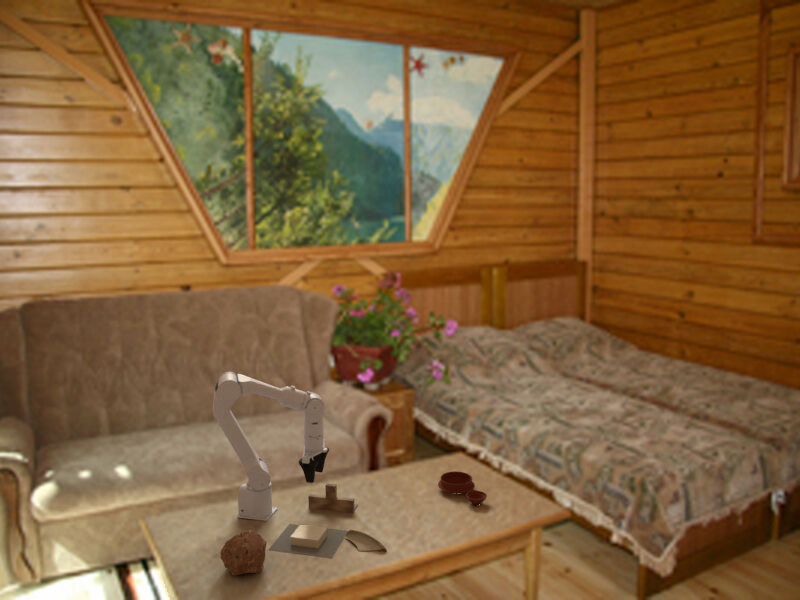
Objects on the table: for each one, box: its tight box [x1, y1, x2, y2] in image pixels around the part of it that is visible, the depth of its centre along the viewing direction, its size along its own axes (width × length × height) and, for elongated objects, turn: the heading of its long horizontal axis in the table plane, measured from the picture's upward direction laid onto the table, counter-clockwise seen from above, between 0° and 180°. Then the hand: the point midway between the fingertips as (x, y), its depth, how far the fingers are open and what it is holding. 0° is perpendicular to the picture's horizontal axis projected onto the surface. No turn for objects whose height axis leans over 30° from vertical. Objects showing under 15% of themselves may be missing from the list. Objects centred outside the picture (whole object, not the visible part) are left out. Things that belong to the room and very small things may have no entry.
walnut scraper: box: [307, 483, 359, 514], centre depth 217 cm, size 14×6×8 cm, turn 76°
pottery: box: [437, 471, 488, 506], centre depth 225 cm, size 12×20×4 cm, turn 29°
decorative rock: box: [219, 529, 267, 576], centre depth 182 cm, size 13×11×10 cm
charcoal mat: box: [268, 523, 349, 559], centre depth 197 cm, size 18×15×1 cm
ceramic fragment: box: [344, 529, 388, 552], centre depth 194 cm, size 14×5×4 cm, turn 54°
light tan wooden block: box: [291, 524, 328, 549], centre depth 197 cm, size 8×2×7 cm
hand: (314, 476), depth 216 cm, fingers open, 7 cm apart
